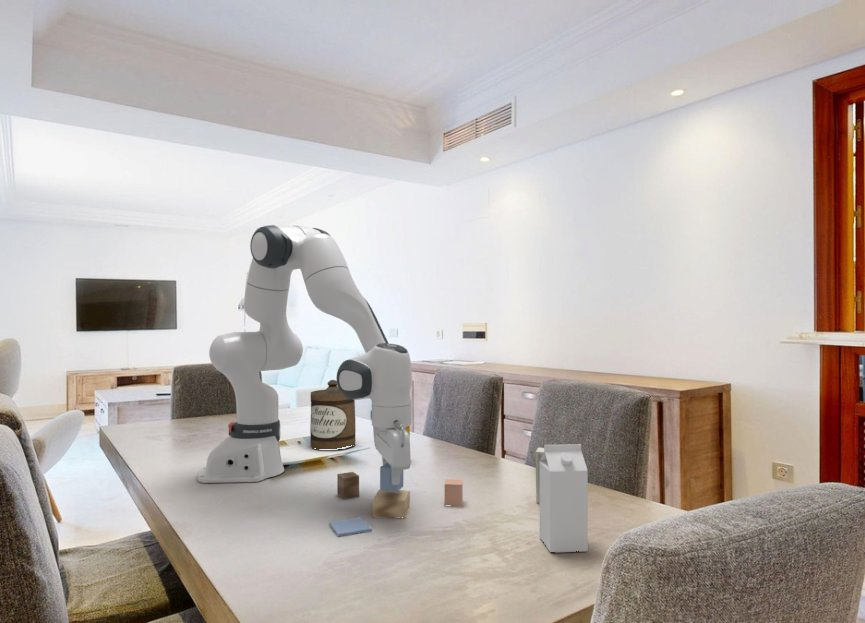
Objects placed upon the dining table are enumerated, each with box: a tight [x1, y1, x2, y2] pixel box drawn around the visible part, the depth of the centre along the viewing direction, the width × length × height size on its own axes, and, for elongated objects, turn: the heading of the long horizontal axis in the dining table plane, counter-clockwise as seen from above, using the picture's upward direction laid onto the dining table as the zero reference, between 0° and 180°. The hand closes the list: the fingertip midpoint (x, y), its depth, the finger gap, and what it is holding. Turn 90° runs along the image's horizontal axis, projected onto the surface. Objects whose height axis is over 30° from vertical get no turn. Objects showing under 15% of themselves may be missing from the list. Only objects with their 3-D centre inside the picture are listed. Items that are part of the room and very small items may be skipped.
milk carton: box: [539, 443, 589, 553], centre depth 106 cm, size 7×7×19 cm
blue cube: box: [379, 463, 404, 492], centre depth 124 cm, size 4×4×5 cm
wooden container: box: [309, 379, 357, 449], centre depth 187 cm, size 15×15×22 cm
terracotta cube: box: [443, 478, 464, 507], centre depth 130 cm, size 4×4×5 cm
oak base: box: [372, 489, 411, 519], centre depth 124 cm, size 7×7×4 cm
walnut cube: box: [336, 471, 360, 500], centre depth 135 cm, size 4×4×5 cm
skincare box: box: [534, 447, 544, 504], centre depth 131 cm, size 6×4×12 cm
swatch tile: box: [328, 517, 373, 537], centre depth 115 cm, size 7×7×1 cm
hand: (391, 479), depth 124 cm, fingers closed on blue cube, 6 cm apart
